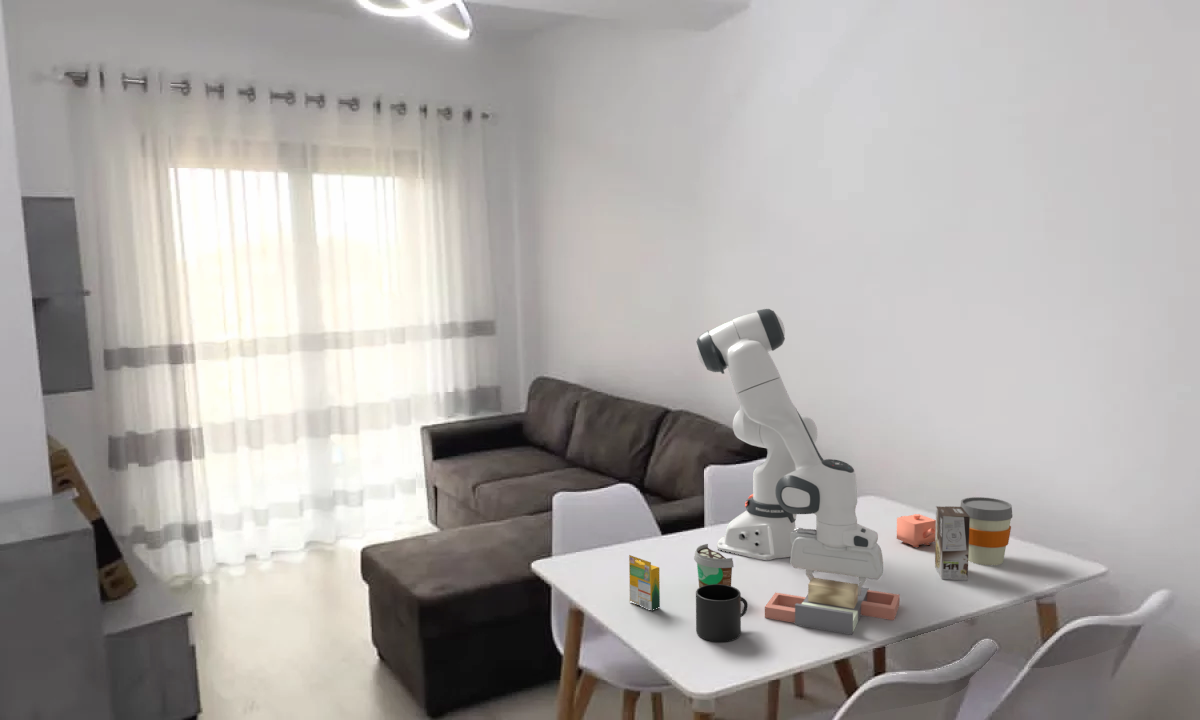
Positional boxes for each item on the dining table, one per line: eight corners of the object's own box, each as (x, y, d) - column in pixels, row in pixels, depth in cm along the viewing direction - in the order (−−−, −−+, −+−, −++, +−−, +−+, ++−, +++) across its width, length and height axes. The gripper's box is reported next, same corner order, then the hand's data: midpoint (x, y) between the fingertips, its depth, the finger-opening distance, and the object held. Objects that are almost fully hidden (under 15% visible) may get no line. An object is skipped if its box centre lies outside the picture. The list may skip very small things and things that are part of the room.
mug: (759, 635, 178) (759, 594, 177) (710, 646, 173) (710, 604, 172) (735, 618, 187) (735, 579, 186) (688, 628, 182) (687, 588, 181)
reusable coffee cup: (948, 558, 221) (949, 502, 219) (974, 548, 228) (976, 494, 227) (994, 571, 211) (996, 513, 209) (1020, 560, 218) (1022, 504, 217)
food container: (684, 586, 206) (684, 546, 205) (706, 582, 208) (706, 543, 207) (711, 604, 195) (710, 562, 193) (733, 599, 197) (733, 558, 196)
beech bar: (808, 601, 189) (808, 584, 188) (812, 594, 193) (812, 577, 192) (854, 608, 184) (854, 591, 184) (857, 601, 188) (857, 584, 188)
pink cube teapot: (922, 553, 226) (923, 523, 225) (891, 540, 237) (891, 511, 236) (945, 548, 229) (945, 519, 228) (913, 536, 240) (913, 507, 239)
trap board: (763, 619, 186) (763, 599, 185) (787, 586, 204) (787, 568, 204) (886, 640, 174) (887, 619, 174) (900, 603, 193) (900, 584, 192)
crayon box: (660, 608, 193) (660, 559, 192) (651, 612, 191) (650, 562, 190) (638, 599, 198) (637, 551, 197) (629, 602, 197) (628, 554, 195)
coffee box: (968, 581, 205) (970, 516, 204) (940, 579, 207) (942, 515, 205) (960, 567, 214) (962, 506, 212) (934, 566, 216) (935, 505, 214)
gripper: (787, 530, 191) (786, 589, 193) (880, 542, 182) (879, 603, 184) (793, 522, 197) (793, 579, 199) (885, 533, 188) (884, 593, 190)
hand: (835, 591), depth 191 cm, fingers open, 8 cm apart
